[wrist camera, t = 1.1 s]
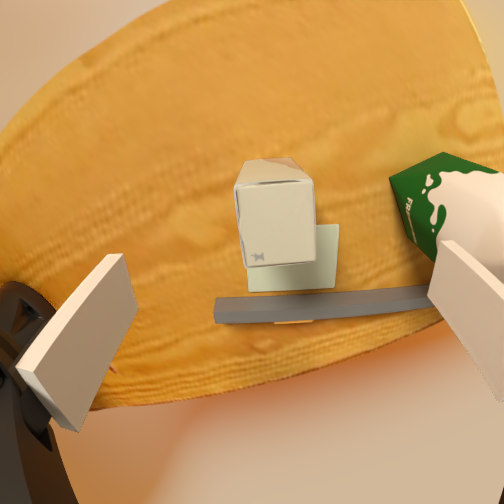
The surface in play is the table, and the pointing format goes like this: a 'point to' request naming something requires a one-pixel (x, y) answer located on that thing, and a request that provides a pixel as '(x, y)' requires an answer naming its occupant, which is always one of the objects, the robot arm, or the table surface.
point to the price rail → (320, 305)
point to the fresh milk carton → (454, 208)
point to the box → (275, 213)
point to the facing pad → (302, 267)
